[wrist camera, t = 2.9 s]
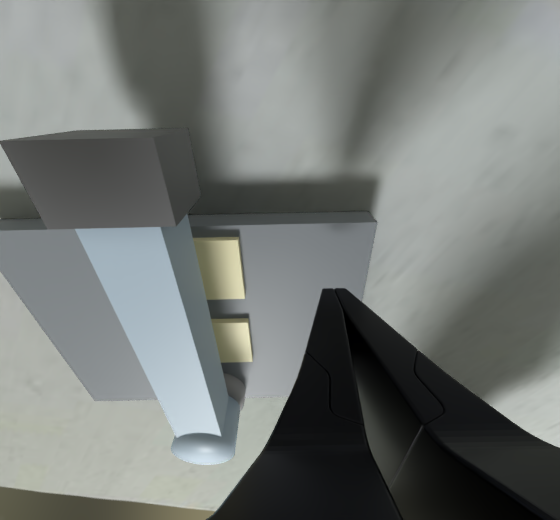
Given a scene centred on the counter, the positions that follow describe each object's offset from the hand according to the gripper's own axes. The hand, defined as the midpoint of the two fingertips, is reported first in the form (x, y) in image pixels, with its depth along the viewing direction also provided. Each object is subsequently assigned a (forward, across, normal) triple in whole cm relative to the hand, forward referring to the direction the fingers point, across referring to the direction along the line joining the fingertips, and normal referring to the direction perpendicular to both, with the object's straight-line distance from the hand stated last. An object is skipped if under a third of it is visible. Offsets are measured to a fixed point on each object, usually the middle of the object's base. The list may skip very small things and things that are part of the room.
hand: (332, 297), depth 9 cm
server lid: (+3, +6, +4) cm, 8 cm away
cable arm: (+1, +6, +2) cm, 7 cm away
